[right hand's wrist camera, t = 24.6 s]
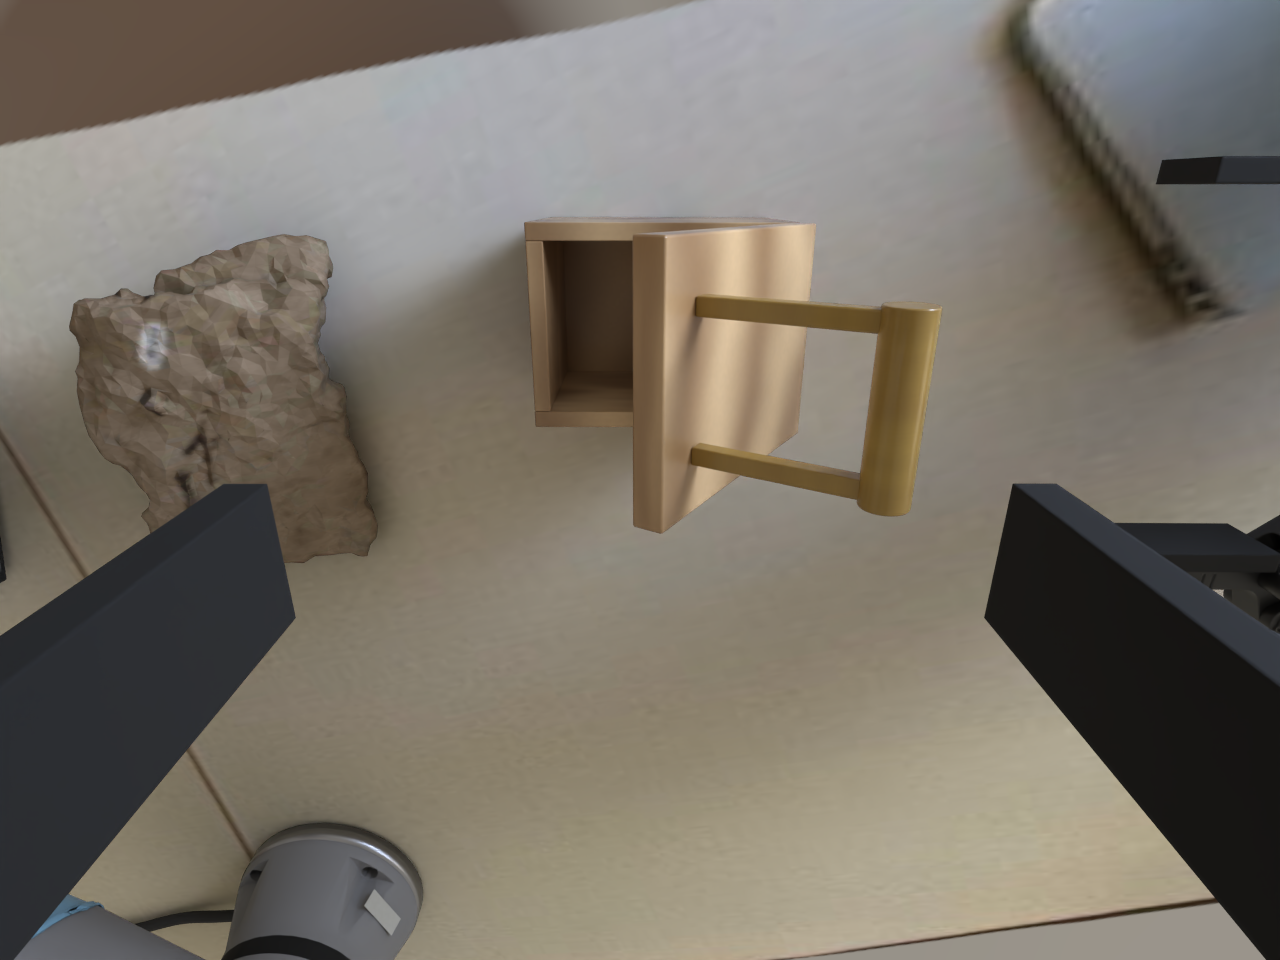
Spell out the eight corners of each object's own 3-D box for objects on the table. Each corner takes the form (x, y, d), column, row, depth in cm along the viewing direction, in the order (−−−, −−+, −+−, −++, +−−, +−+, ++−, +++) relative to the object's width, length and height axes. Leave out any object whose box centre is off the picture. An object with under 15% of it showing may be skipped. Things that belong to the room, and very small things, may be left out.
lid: (632, 527, 25) (882, 595, 21) (631, 234, 21) (936, 242, 17) (775, 429, 36) (960, 461, 32) (790, 222, 32) (1002, 226, 28)
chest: (557, 380, 46) (535, 427, 36) (550, 217, 42) (523, 222, 33) (754, 380, 46) (783, 427, 36) (765, 217, 42) (800, 222, 33)
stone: (47, 231, 39) (-12, 258, 34) (331, 224, 42) (315, 247, 37) (172, 539, 50) (141, 594, 45) (390, 515, 53) (384, 564, 48)
